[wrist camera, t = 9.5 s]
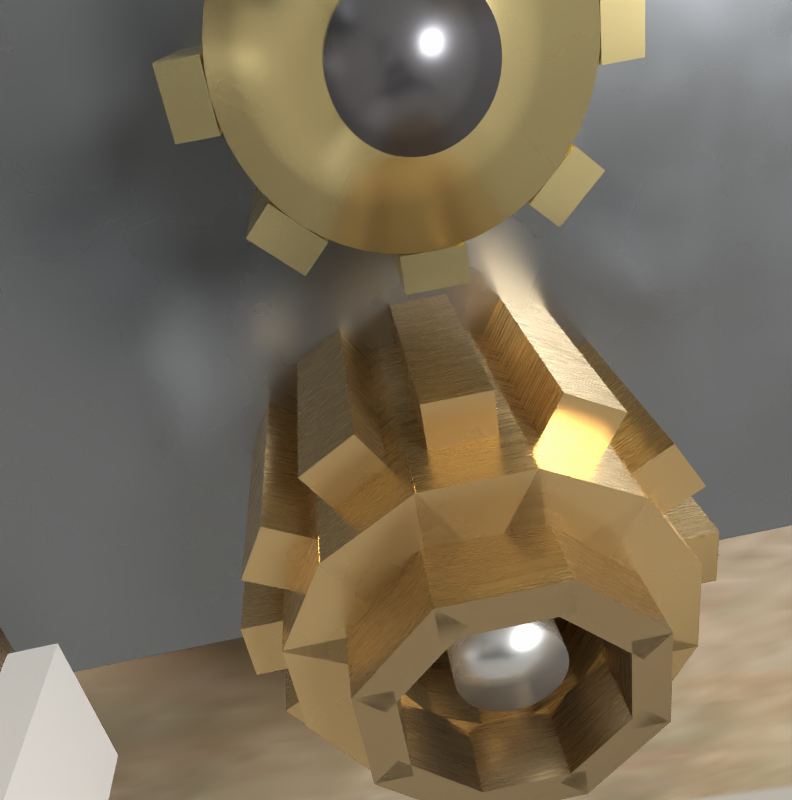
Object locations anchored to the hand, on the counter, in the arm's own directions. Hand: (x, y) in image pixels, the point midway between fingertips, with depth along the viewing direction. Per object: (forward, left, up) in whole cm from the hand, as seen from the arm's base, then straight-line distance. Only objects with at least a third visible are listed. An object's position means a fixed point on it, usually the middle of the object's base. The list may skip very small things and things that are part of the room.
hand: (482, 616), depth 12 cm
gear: (0, 0, -5) cm, 5 cm away
